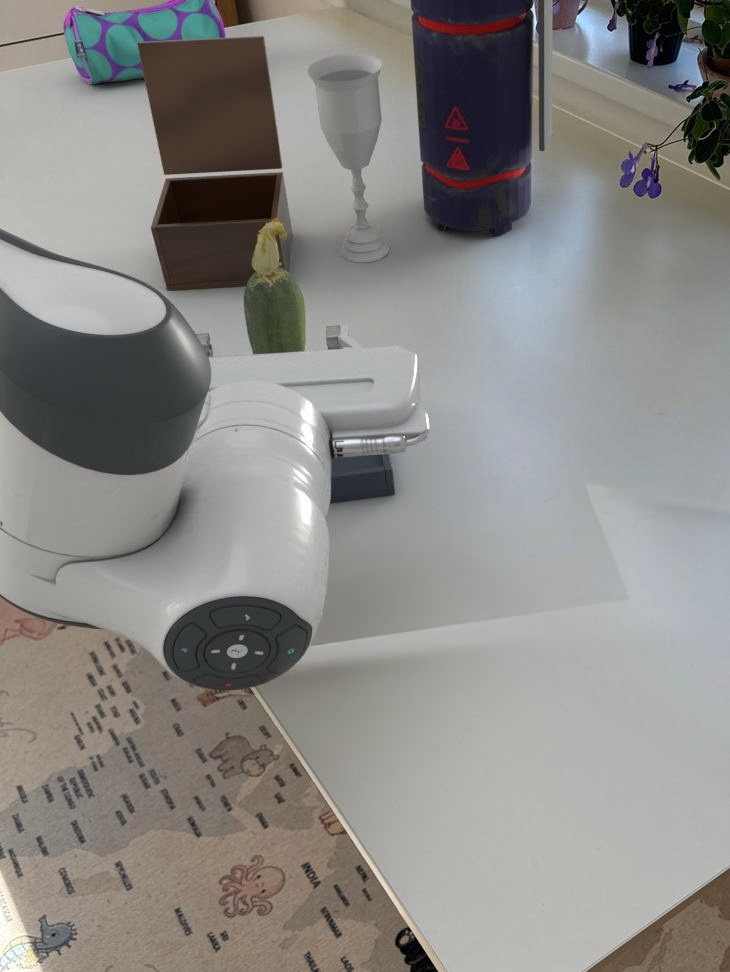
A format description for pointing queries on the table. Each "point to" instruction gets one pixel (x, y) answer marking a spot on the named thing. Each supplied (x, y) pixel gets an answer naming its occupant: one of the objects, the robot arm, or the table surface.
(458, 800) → the table surface
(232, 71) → the lid
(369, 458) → the tray
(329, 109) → the chalice
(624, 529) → the table surface
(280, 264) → the vegetable
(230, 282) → the chest
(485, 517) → the table surface
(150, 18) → the pencil case
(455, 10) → the navy canister
